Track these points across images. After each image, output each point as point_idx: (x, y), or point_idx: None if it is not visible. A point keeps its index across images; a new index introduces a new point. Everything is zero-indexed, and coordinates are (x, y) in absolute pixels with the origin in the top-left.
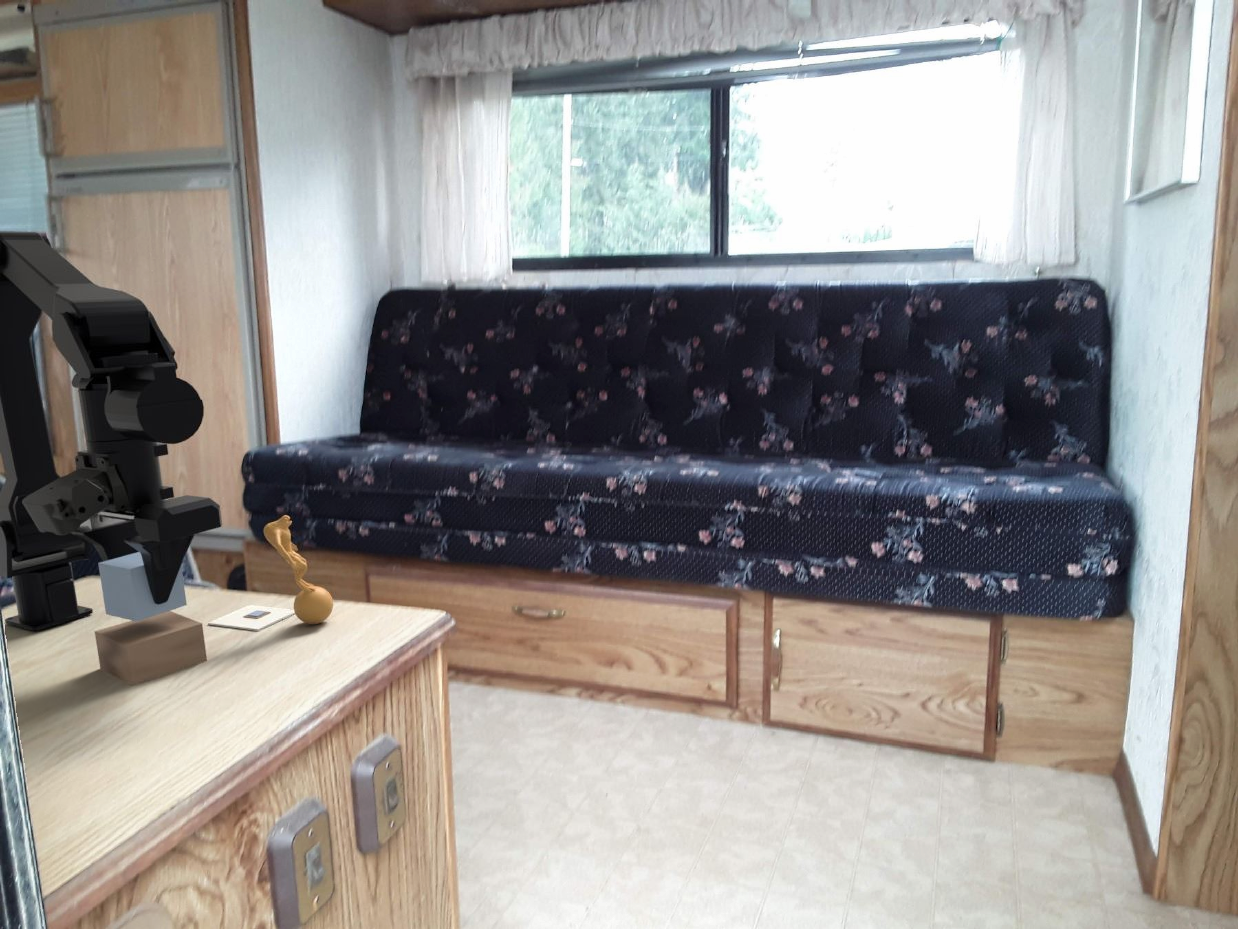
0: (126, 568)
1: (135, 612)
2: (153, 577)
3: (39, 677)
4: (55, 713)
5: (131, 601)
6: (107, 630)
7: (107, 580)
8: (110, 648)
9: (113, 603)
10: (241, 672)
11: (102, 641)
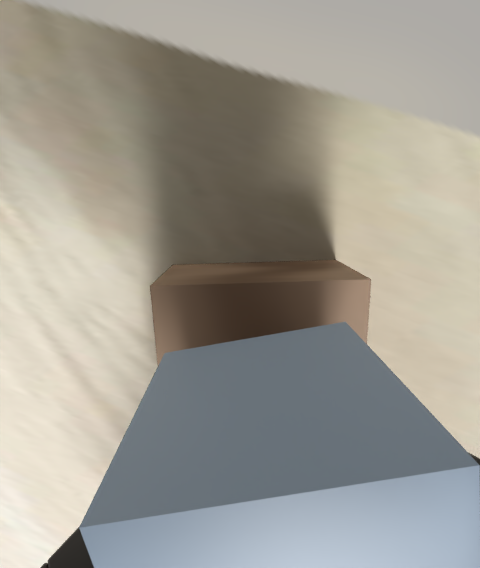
0: (116, 522)
1: (162, 368)
2: (64, 543)
3: (410, 150)
4: (148, 95)
5: (169, 387)
6: (341, 304)
7: (344, 403)
8: (266, 275)
9: (297, 351)
10: (64, 419)
11: (317, 276)
